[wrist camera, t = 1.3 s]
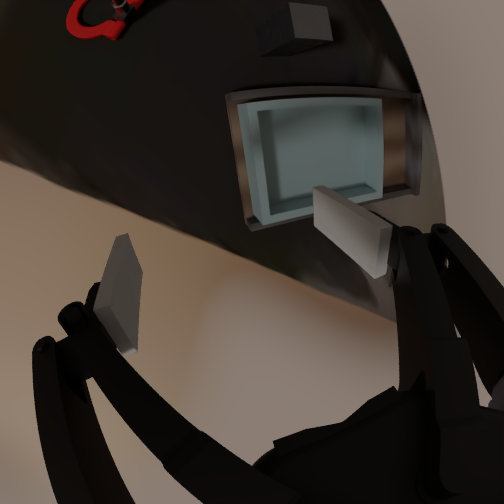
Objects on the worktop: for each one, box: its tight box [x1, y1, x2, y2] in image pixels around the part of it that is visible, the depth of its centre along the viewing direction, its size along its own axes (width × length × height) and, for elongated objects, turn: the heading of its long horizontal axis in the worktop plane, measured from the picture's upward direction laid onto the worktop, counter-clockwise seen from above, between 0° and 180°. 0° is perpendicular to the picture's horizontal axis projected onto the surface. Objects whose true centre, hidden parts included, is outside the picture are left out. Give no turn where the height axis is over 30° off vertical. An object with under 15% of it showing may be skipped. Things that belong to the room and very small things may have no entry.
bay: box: [225, 86, 422, 232], centre depth 33 cm, size 17×29×4 cm, turn 98°
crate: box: [237, 97, 384, 225], centre depth 31 cm, size 14×18×4 cm
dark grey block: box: [256, 3, 333, 57], centre depth 21 cm, size 4×4×10 cm
